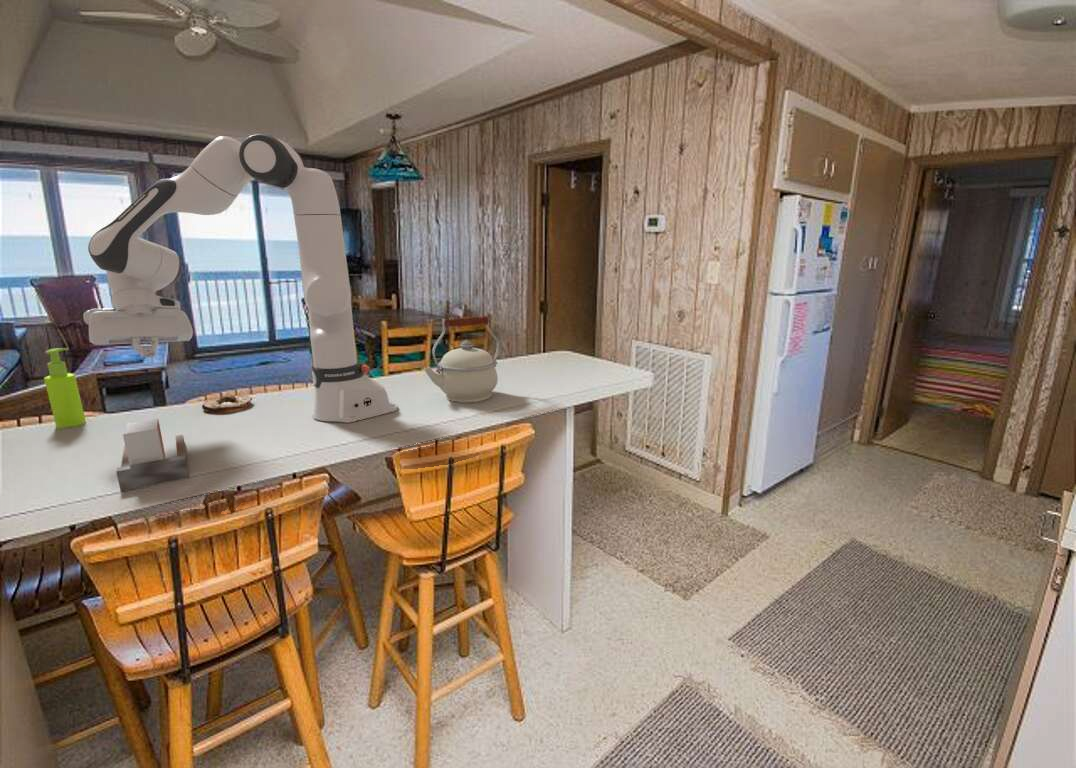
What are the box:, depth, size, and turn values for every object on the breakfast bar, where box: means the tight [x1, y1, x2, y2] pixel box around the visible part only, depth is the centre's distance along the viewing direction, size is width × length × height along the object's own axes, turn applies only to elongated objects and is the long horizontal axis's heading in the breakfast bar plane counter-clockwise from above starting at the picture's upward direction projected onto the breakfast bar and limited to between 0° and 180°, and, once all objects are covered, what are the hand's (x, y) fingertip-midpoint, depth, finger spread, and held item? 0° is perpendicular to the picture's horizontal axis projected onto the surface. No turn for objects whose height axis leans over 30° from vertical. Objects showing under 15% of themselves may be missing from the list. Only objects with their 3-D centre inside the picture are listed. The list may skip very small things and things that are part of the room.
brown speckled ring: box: [201, 394, 253, 416], centre depth 150 cm, size 15×15×4 cm
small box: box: [122, 418, 167, 465], centre depth 105 cm, size 8×6×10 cm
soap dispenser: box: [43, 347, 87, 429], centre depth 133 cm, size 6×7×20 cm
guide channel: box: [115, 434, 190, 492], centre depth 111 cm, size 11×23×4 cm, turn 35°
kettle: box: [422, 315, 500, 404], centre depth 157 cm, size 25×18×25 cm
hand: (148, 355), depth 124 cm, fingers closed
